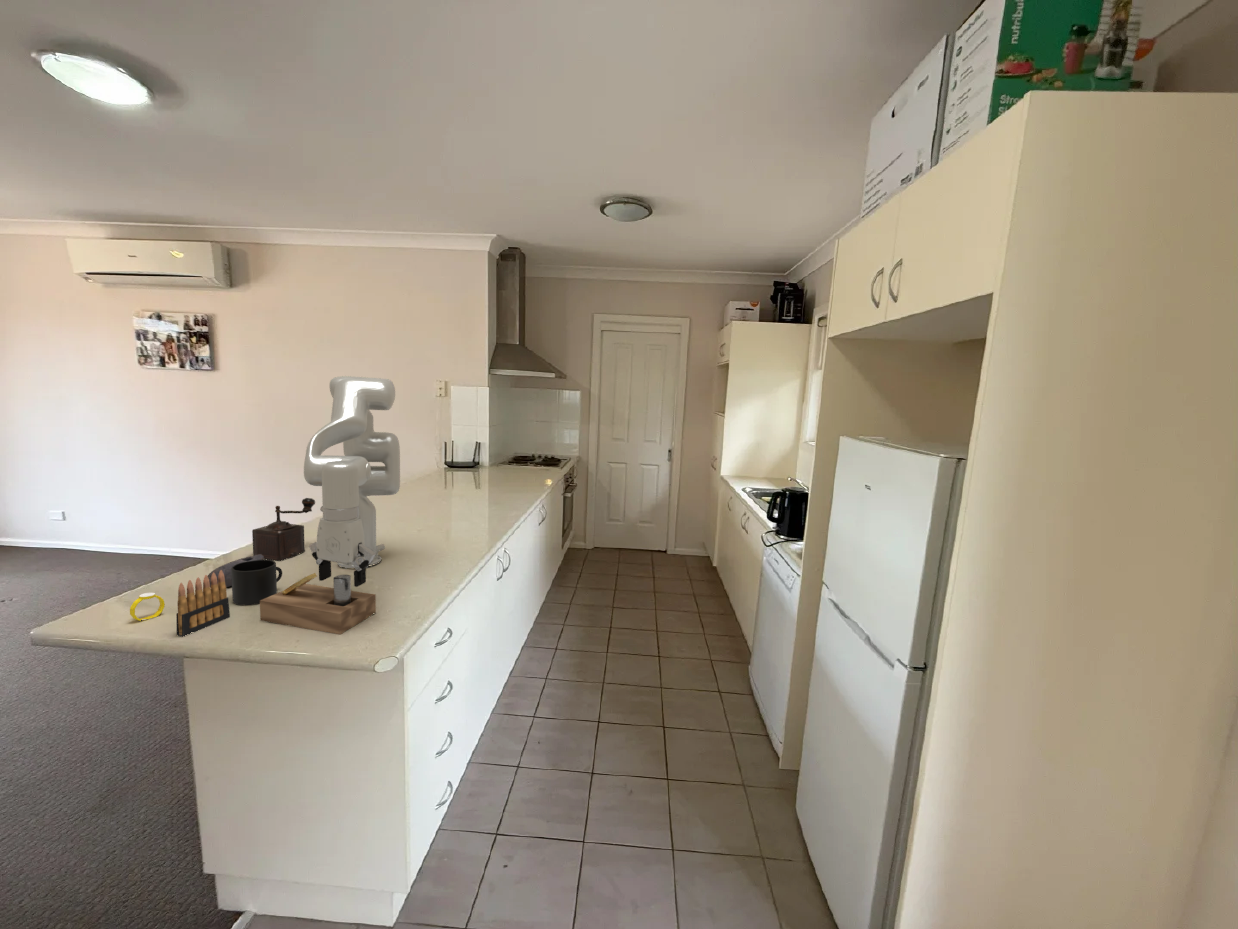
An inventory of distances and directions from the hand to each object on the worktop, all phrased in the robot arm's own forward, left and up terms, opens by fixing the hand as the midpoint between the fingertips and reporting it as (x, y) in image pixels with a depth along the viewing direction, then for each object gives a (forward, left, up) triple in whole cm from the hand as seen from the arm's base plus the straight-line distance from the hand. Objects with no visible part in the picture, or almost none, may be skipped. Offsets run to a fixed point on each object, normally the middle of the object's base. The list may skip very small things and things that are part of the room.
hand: (342, 581), depth 121 cm
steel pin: (+1, 0, -10) cm, 10 cm away
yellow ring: (+14, -41, -10) cm, 44 cm away
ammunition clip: (+13, -26, -10) cm, 31 cm away
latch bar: (+1, -11, -2) cm, 12 cm away
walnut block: (+1, -6, -10) cm, 11 cm away
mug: (-4, -29, -10) cm, 31 cm away
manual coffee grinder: (-35, -52, -10) cm, 64 cm away
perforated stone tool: (-9, -42, -10) cm, 44 cm away
